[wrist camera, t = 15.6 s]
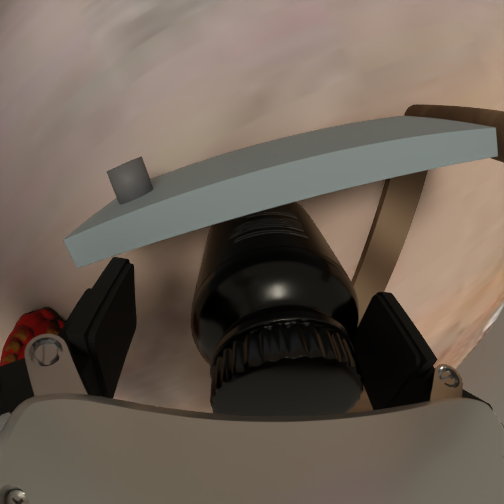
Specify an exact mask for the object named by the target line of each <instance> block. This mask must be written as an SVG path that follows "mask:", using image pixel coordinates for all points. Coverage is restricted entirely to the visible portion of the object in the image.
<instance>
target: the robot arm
mask: <svg viewBox="0 0 504 504" xmlns="http://www.w3.org/2000/svg"><path fill="white" fill-rule="evenodd" d="M135 329H136V306H135V284H134V265H133V264H130V262H129V260H128V259H124V258H118V257H113V258H112V260H111V261H110V262H109V264H108V265H107V267H106V268H105V270H104V271H103V273H102V274H101V276H100V277H99V279H98V280H97V282H96V283H95V285H94V286H93V288H92V289H90V288H89V289H87V290H86V291H85V292H84V294H83V295H82V297H81V298H80V300H79V302H78V303H77V305H76V306H75V308H74V309H73V311H72V313H71V314H70V316H69V317H68V319H67V321H66V322H65V324H64V326H63V327H62V329H61V331H60V332H59V334H58V336H57V335H54V334H42V335H39V336H36V337H35V338H33V339H32V340H31V341H30V342H29V343H28V344H27V346H26V348H25V358H22V359H19V360H17V361H14V362H11V363H8V364H5V365H3V366H0V504H504V426H503V424H502V423H501V422H500V421H499V420H498V418H497V416H496V415H495V414H494V412H493V410H492V407H491V405H490V404H488V403H486V402H485V401H483V400H481V399H479V398H477V397H475V396H474V395H472V394H470V393H468V392H467V391H465V390H463V388H462V387H463V382H462V378H461V376H460V374H459V373H458V372H457V371H456V370H455V369H454V368H453V367H451V366H449V365H446V364H440V365H438V366H437V367H436V368H435V369H434V367H433V365H434V364H435V362H436V361H437V358H436V356H435V355H434V353H433V352H432V350H431V349H430V347H429V346H428V344H427V343H426V341H425V340H424V338H423V337H422V335H421V334H420V332H419V331H418V329H417V328H416V326H415V325H414V324H413V322H412V321H411V319H410V318H409V316H408V315H407V314H406V312H405V311H404V309H403V308H402V307H401V305H400V304H399V303H398V301H397V300H396V298H395V297H394V296H393V294H392V293H388V292H378V293H376V295H374V296H373V297H372V298H371V301H370V303H369V305H368V307H367V309H366V311H365V313H364V315H363V317H362V319H361V321H360V323H359V325H358V327H357V330H356V333H355V336H354V338H353V343H354V346H355V350H356V358H357V360H358V362H359V365H360V367H361V370H362V375H363V378H364V384H363V385H364V388H365V390H366V393H367V395H368V398H369V400H370V403H371V405H372V408H373V410H371V411H363V412H353V413H343V414H330V415H312V416H246V415H228V414H215V413H204V412H195V411H186V410H179V409H171V408H164V407H157V406H151V405H145V404H139V403H134V402H129V401H123V400H117V399H112V398H113V396H114V393H115V390H116V387H117V383H118V380H119V377H120V374H121V371H122V367H123V364H124V361H125V358H126V355H127V352H128V349H129V346H130V344H131V341H132V338H133V335H134V332H135Z"/></svg>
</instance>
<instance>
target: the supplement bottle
mask: <svg viewBox="0 0 504 504" xmlns="http://www.w3.org/2000/svg"><path fill="white" fill-rule="evenodd" d="M358 321H359V302H358V297H357V294H356V291H355V289H354V287H353V285H352V283H351V281H350V279H349V277H348V275H347V274H346V272H345V270H344V269H343V267H342V265H341V264H340V262H339V260H338V259H337V257H336V256H335V254H334V252H333V251H332V249H331V248H330V246H329V245H328V243H327V241H326V240H325V238H324V237H323V235H322V234H321V232H320V231H319V229H318V228H317V226H316V224H315V223H314V221H313V220H312V219H311V217H310V216H309V214H308V213H307V212H306V211H305V210H304V208H303V207H302V206H300V205H299V204H298V203H297V202H292V203H288V204H284V205H281V206H277V207H273V208H270V209H266V210H262V211H259V212H255V213H252V214H248V215H245V216H241V217H238V218H234V219H231V220H227V221H224V222H220V223H217V224H213V225H211V228H210V231H209V234H208V238H207V242H206V246H205V250H204V255H203V259H202V263H201V268H200V272H199V276H198V281H197V285H196V290H195V295H194V299H193V304H192V311H191V331H192V336H193V339H194V342H195V344H196V347H197V349H198V350H199V352H200V354H201V355H202V357H203V358H204V359H205V361H206V362H207V363H208V364H209V365H210V366H211V367H210V375H211V380H212V382H211V396H210V403H211V406H212V408H213V413H215V414H228V415H246V416H312V415H330V414H343V413H348V412H349V410H350V409H352V408H353V407H354V406H355V404H356V402H357V401H358V400H359V399H360V395H361V393H362V392H363V384H364V378H363V375H362V370H361V367H360V365H359V362H358V360H357V358H356V350H355V346H354V343H353V338H354V336H355V333H356V330H357V326H358Z"/></svg>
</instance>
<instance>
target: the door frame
mask: <svg viewBox="0 0 504 504" xmlns="http://www.w3.org/2000/svg"><path fill="white" fill-rule="evenodd" d="M405 116H414V117H426V118H436V119H445V120H453V121H460V122H467V123H473V124H479V125H484V126H490V127H495V128H496V136H497V150H498V156H497V157H491V158H492V159H495V160H498V161H501V162H504V112H503V111H496V110H489V109H480V108H471V107H459V106H444V105H412V106H410V107H409V108H408V109H407V111H406V113H405ZM427 171H428V170H425V171H420V172H415V173H411V174H406V175H402V176H397V177H393V178H388V179H386V182H385V186H384V189H383V193H382V196H381V199H380V203H379V206H378V209H377V212H376V215H375V218H374V221H373V224H372V227H371V230H370V233H369V236H368V239H367V242H366V245H365V248H364V251H363V253H362V256H361V259H360V261H359V264H358V267H357V269H356V272H355V275H354V277H353V280H352V282H351V283H352V285H353V287H354V289H355V291H356V294H357V297H358V302H359V321H358V325H359V323H360V321H361V319H362V317H363V315H364V313H365V311H366V309H367V307H368V305H369V303H370V301H371V298H372V297H373V296H374V295H376V293H378V292H384V290H385V288H386V286H387V284H388V281H389V279H390V277H391V274H392V272H393V270H394V267H395V265H396V262H397V260H398V257H399V255H400V252H401V250H402V247H403V245H404V242H405V239H406V237H407V234H408V231H409V228H410V226H411V223H412V220H413V217H414V214H415V211H416V208H417V205H418V202H419V199H420V195H421V192H422V189H423V185H424V182H425V178H426V175H427ZM357 327H358V326H357ZM371 410H373V408H372V405H371V403H370V400H369V398H368V395H367V393H366V390H365V388H364V385H363V392H362V393H361V395H360V399H359V400H358V401H357V402H356V404H355V406H354V407H353V408H352V409H350V410H349V412H348V413H353V412H363V411H371Z"/></svg>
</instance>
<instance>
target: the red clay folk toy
mask: <svg viewBox="0 0 504 504" xmlns="http://www.w3.org/2000/svg"><path fill="white" fill-rule="evenodd" d="M64 324H65V322H64V321H63V320H62V319H61V318H60V317H59V316H58V315H57V314H56V313H55V312H54V311H52V310H51V309H49V308H47V307H45V308H43V309H40V310H37V311H35V312H33V311H32V312H29V313H25V314H24V315H22V316H21V317H20V319H19V320H18V322H17V323H16V325H15V327H14V329H13V331H12V332H11V333H10V335H9V337H8V338H7V340H6V343H5V345H4V347H3V350H2V356H1V362H0V366H3V365H5V364H8V363H11V362H14V361H17V360H19V359H22V358H25V348H26V346H27V344H28V343H29V342H30V341H31V340H32V339H33V338H35V337H36V336H39V335H42V334H54V335H57V336H58V334H59V332H60V331H61V329H62V327H63V326H64Z"/></svg>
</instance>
